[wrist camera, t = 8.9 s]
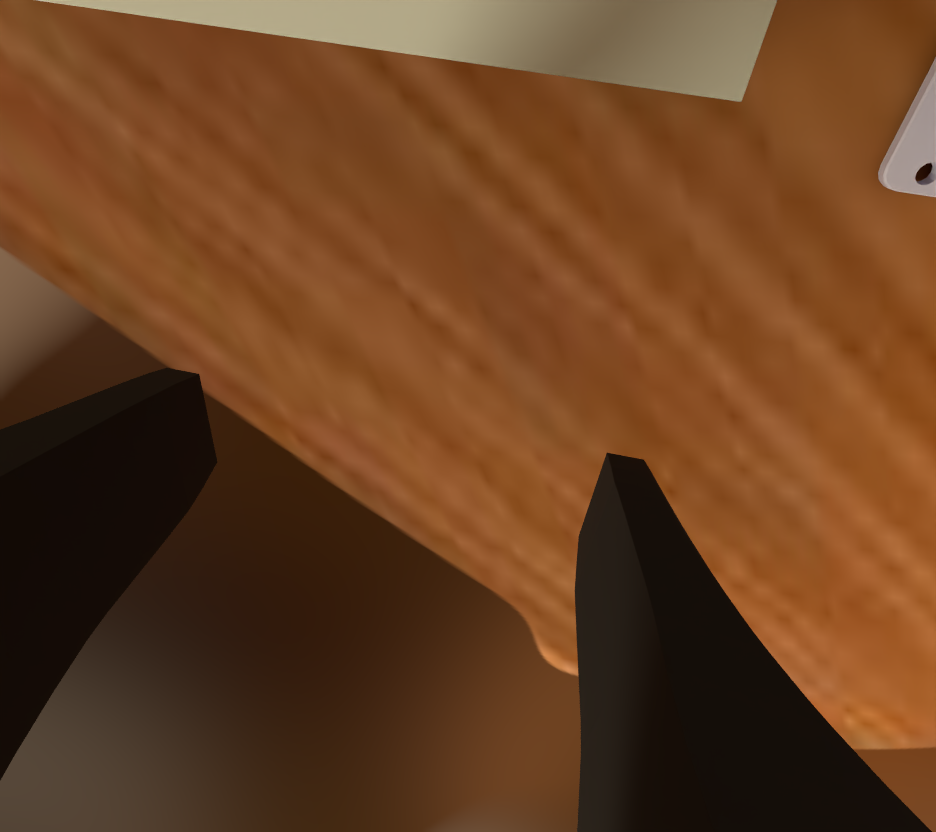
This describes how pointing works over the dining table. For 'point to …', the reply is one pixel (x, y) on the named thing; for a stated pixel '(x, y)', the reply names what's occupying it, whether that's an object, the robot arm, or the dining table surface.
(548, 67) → the lid
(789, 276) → the dining table surface
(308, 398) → the dining table surface
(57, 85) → the dining table surface
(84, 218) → the dining table surface
